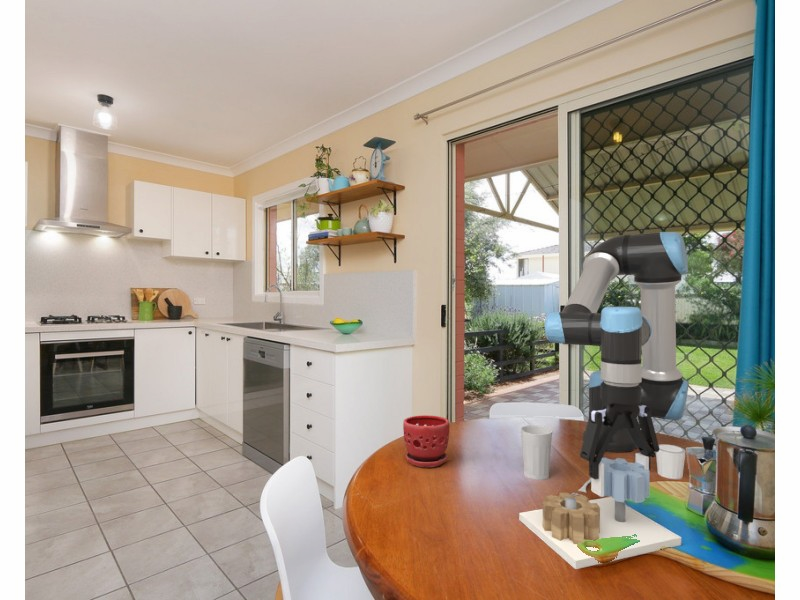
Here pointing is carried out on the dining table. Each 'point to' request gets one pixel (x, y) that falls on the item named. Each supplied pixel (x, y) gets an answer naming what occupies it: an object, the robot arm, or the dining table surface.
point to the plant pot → (426, 440)
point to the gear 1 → (571, 518)
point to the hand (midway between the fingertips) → (620, 489)
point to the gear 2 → (625, 480)
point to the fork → (582, 488)
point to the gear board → (606, 532)
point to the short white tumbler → (670, 461)
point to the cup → (536, 451)
